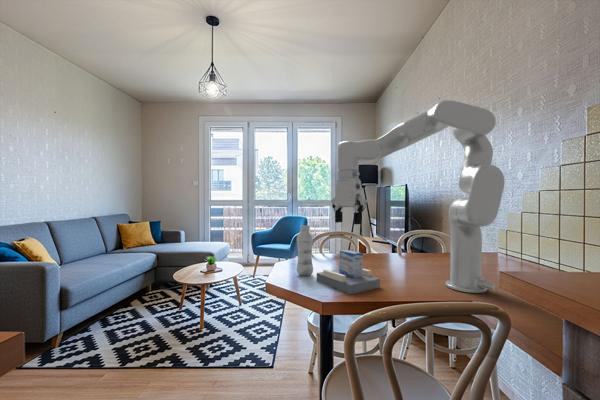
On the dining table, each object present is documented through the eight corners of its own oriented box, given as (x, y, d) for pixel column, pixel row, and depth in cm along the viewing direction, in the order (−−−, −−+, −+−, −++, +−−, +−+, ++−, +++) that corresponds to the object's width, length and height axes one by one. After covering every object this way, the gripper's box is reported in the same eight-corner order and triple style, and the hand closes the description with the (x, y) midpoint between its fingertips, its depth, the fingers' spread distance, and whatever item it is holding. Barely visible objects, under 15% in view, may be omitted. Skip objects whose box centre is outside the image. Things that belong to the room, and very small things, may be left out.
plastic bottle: (313, 277, 111) (313, 226, 111) (296, 277, 112) (296, 226, 112) (312, 273, 118) (313, 225, 118) (296, 273, 118) (297, 225, 118)
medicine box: (338, 273, 106) (338, 250, 106) (347, 272, 109) (347, 249, 109) (354, 278, 100) (354, 253, 100) (362, 276, 102) (363, 252, 102)
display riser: (379, 287, 100) (379, 272, 100) (350, 294, 92) (351, 278, 92) (343, 275, 115) (344, 263, 115) (316, 281, 107) (316, 267, 107)
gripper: (373, 174, 98) (373, 224, 98) (339, 178, 113) (339, 221, 113) (358, 173, 94) (358, 225, 94) (324, 177, 108) (324, 222, 108)
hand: (347, 223), depth 103 cm, fingers open, 9 cm apart
